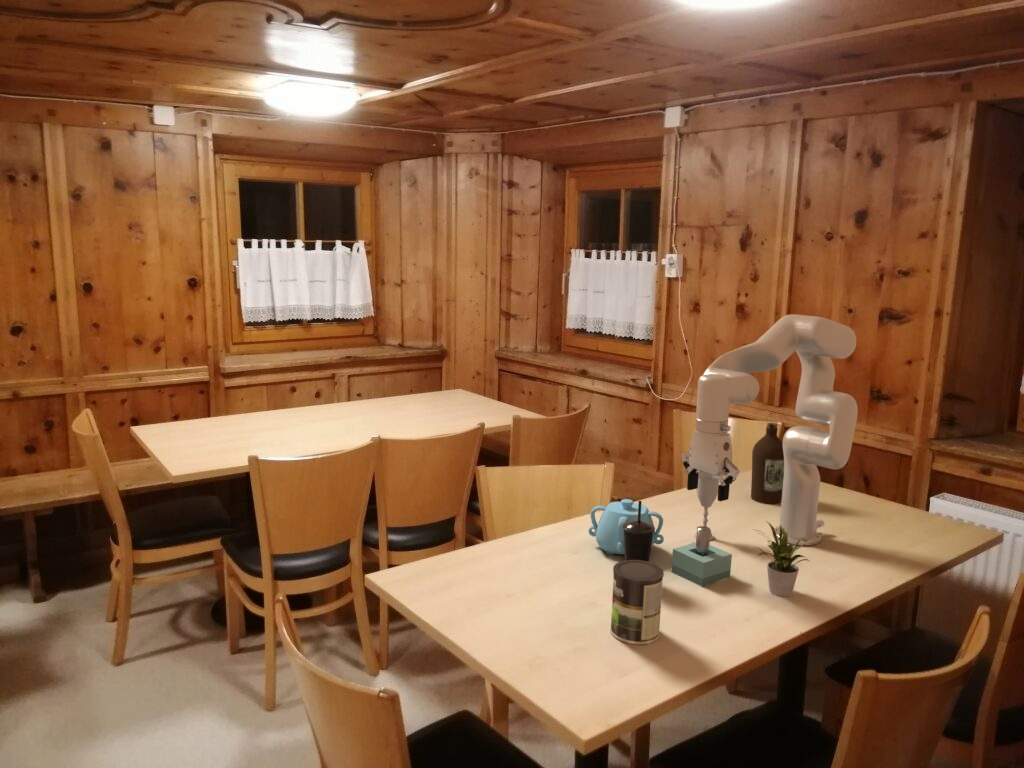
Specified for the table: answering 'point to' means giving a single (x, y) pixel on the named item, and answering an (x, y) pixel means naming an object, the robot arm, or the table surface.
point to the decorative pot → (620, 524)
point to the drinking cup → (638, 538)
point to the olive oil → (768, 468)
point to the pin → (702, 541)
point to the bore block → (701, 564)
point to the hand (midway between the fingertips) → (707, 494)
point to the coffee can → (636, 601)
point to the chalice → (707, 493)
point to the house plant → (782, 564)
